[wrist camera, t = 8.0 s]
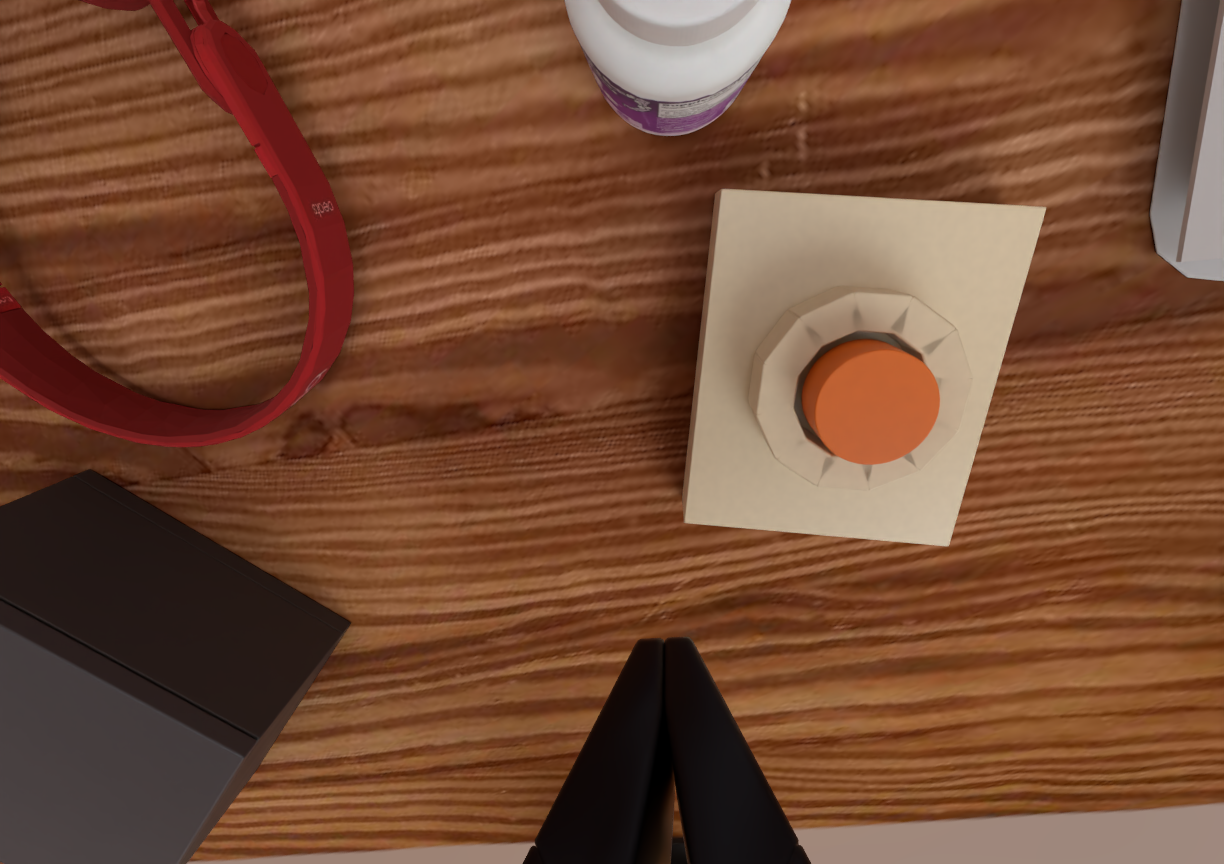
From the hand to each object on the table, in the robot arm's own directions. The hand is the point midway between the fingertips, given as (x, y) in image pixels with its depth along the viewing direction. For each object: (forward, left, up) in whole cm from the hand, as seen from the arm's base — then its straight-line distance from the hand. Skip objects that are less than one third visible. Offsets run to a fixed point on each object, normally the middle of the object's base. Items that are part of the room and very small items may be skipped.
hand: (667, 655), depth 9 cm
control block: (0, -6, -15) cm, 16 cm away
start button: (-1, -6, -11) cm, 13 cm away
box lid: (-5, +27, -8) cm, 29 cm away
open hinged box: (-5, +27, -15) cm, 31 cm away
